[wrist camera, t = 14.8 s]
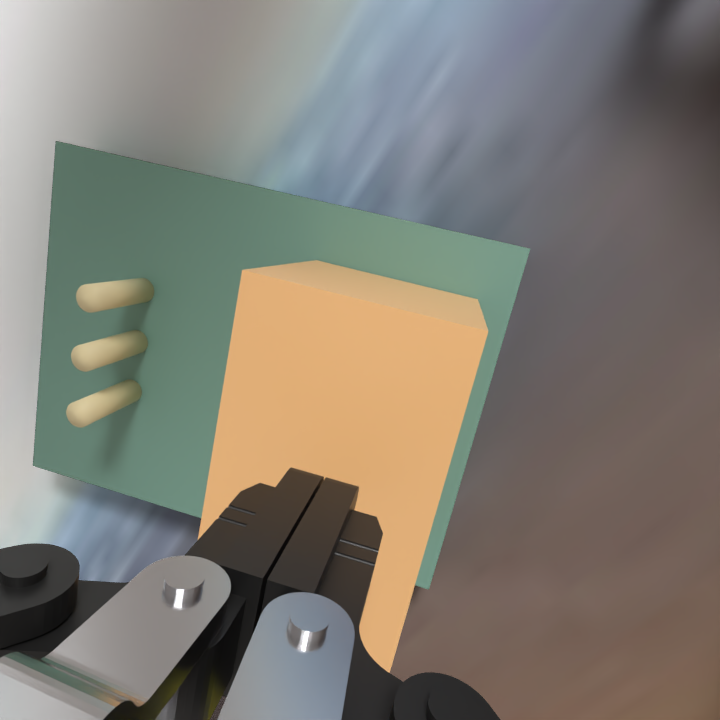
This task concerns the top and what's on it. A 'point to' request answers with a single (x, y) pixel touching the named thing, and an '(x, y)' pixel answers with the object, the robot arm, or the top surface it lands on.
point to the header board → (206, 314)
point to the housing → (349, 406)
